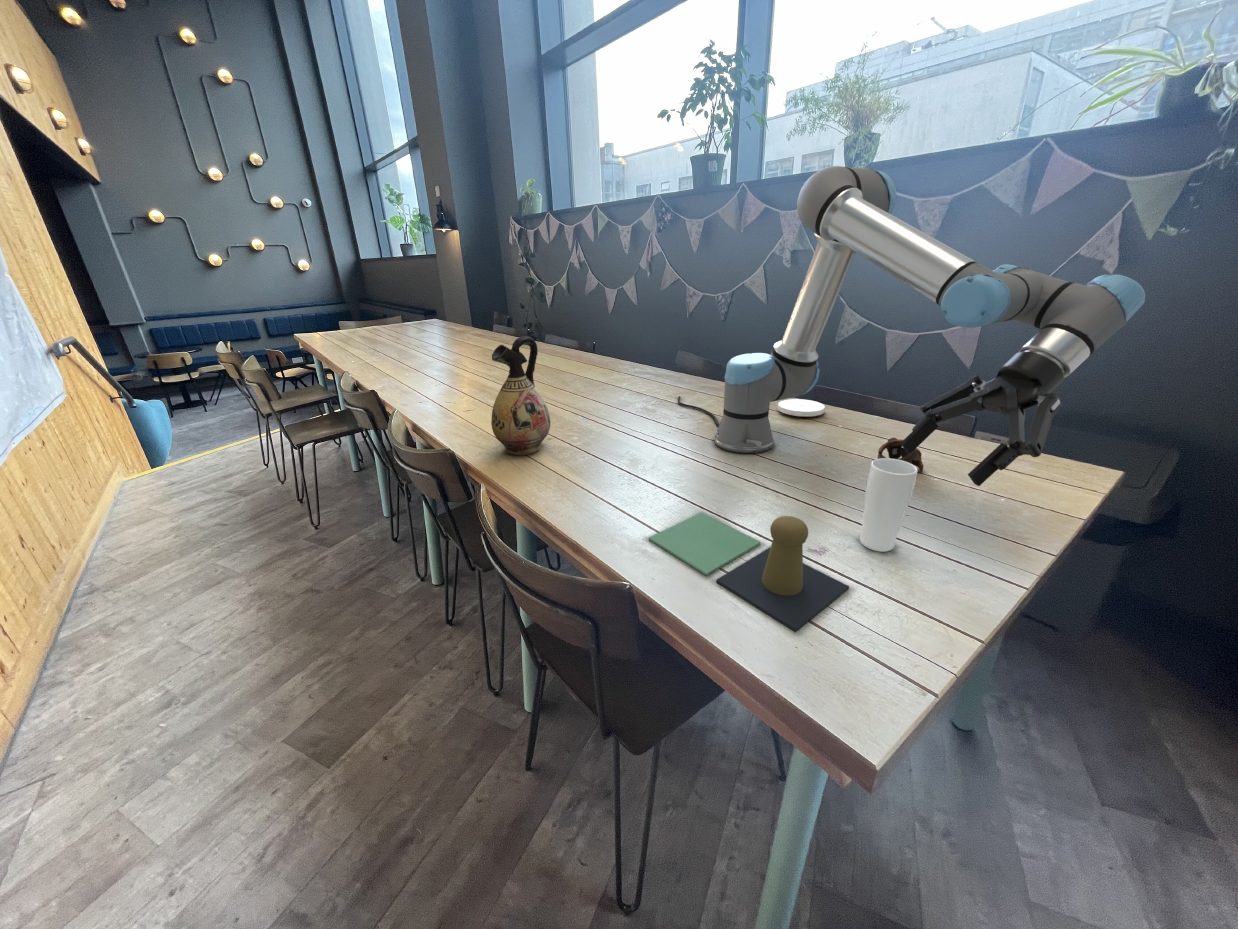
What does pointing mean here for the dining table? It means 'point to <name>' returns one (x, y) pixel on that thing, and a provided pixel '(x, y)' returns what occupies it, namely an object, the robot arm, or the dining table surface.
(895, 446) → the brown notched ring
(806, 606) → the slate mat
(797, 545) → the olive game pawn
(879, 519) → the drinking glass
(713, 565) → the sage mat
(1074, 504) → the dining table surface
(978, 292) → the robot arm
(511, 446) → the ceramic jug
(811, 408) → the plastic lid
